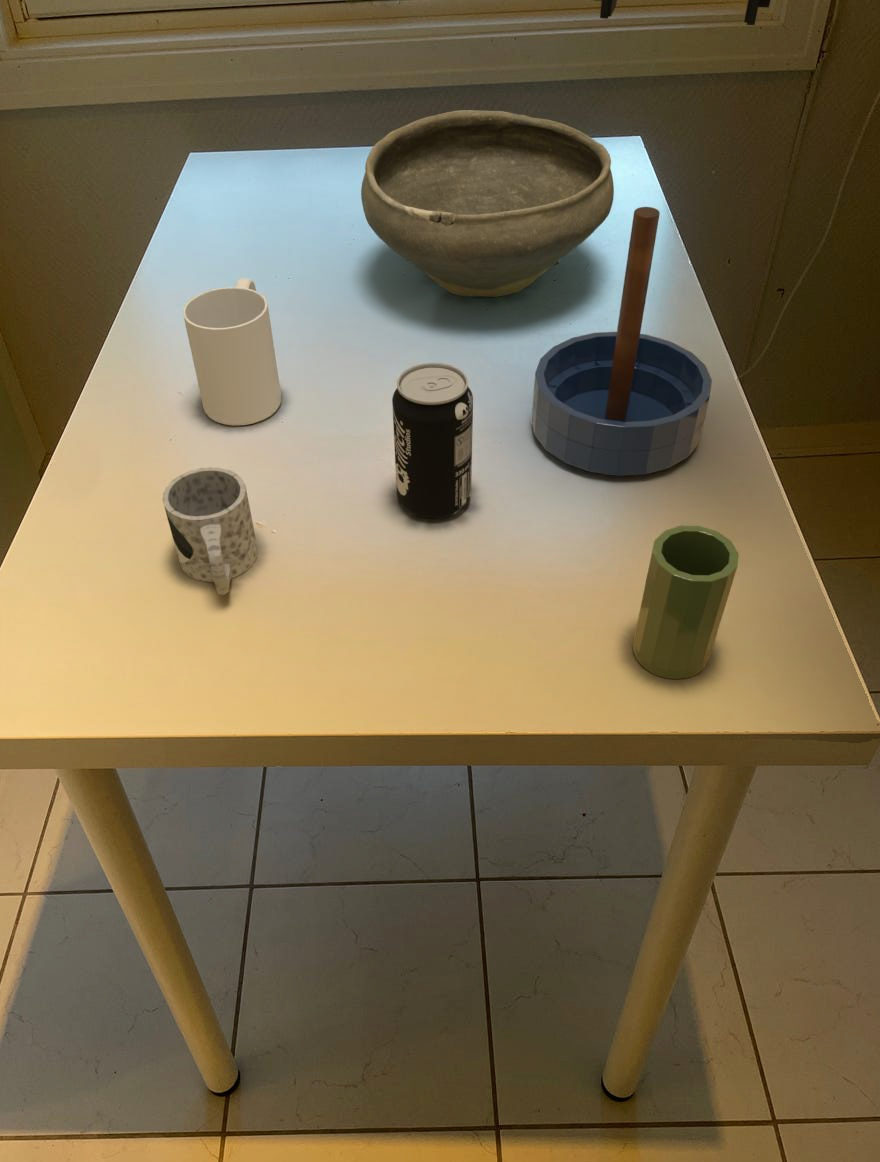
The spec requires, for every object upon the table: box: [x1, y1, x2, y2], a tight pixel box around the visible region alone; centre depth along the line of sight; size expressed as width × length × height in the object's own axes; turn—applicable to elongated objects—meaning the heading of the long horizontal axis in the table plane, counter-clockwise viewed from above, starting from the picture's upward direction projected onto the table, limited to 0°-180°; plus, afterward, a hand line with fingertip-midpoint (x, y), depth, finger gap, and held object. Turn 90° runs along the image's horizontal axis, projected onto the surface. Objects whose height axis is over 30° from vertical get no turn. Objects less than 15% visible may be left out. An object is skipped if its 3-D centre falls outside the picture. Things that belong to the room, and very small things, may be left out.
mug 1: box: [182, 277, 282, 426], centre depth 94 cm, size 12×8×10 cm, turn 172°
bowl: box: [360, 109, 615, 298], centre depth 108 cm, size 28×28×14 cm
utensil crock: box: [632, 525, 740, 680], centre depth 69 cm, size 6×6×10 cm
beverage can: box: [391, 362, 474, 520], centre depth 81 cm, size 7×7×12 cm
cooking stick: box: [605, 206, 661, 422], centre depth 84 cm, size 2×2×20 cm
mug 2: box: [162, 466, 259, 595], centre depth 78 cm, size 10×7×7 cm, turn 13°
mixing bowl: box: [531, 331, 713, 477], centre depth 89 cm, size 16×16×6 cm
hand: (677, 16), depth 66 cm, fingers open, 9 cm apart
